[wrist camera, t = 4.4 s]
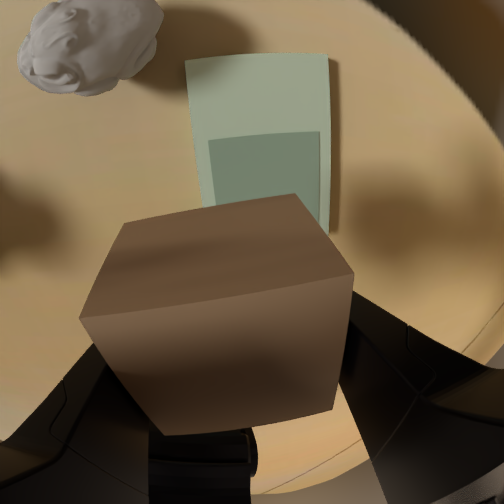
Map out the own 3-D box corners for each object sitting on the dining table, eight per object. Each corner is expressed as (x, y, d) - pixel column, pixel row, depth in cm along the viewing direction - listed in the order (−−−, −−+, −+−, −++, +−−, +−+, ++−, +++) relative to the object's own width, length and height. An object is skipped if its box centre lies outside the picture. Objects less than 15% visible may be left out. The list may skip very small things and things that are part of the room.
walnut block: (299, 319, 11) (332, 409, 8) (169, 341, 11) (164, 435, 7) (295, 193, 8) (354, 273, 5) (124, 223, 8) (78, 318, 5)
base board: (323, 230, 21) (328, 237, 20) (209, 245, 20) (210, 253, 19) (321, 55, 15) (328, 54, 14) (185, 62, 14) (184, 60, 13)
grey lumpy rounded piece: (61, 25, 11) (-1, 7, 5) (169, -11, 11) (149, -61, 5) (72, 108, 14) (8, 125, 8) (180, 77, 14) (162, 68, 8)
